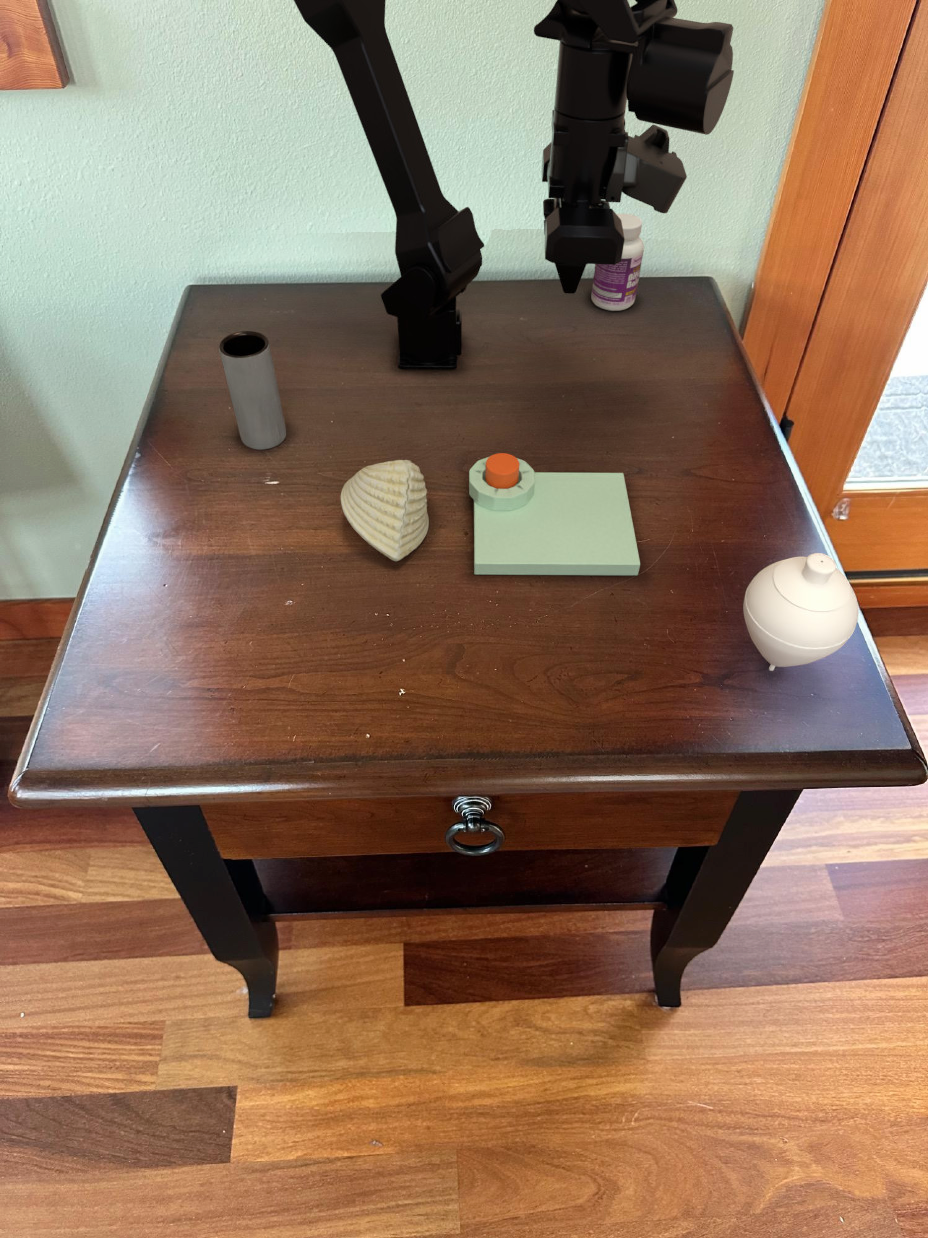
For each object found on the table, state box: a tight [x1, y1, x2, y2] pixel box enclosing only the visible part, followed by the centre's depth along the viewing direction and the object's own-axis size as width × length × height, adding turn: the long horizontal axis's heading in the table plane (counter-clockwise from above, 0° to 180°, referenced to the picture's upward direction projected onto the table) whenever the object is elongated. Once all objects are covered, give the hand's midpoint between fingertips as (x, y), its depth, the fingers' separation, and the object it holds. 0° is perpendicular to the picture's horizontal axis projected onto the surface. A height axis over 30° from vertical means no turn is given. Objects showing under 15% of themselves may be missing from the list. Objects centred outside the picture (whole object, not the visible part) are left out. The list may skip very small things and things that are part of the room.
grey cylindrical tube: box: [218, 330, 287, 450], centre depth 80 cm, size 4×4×10 cm
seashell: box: [340, 459, 430, 562], centre depth 73 cm, size 8×8×8 cm
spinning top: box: [742, 552, 859, 672], centre depth 60 cm, size 8×8×12 cm
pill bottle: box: [590, 213, 645, 312], centre depth 98 cm, size 5×5×10 cm
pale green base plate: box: [468, 456, 641, 576], centre depth 74 cm, size 14×12×3 cm
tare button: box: [485, 452, 519, 489], centre depth 75 cm, size 3×3×2 cm
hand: (569, 291), depth 79 cm, fingers closed
